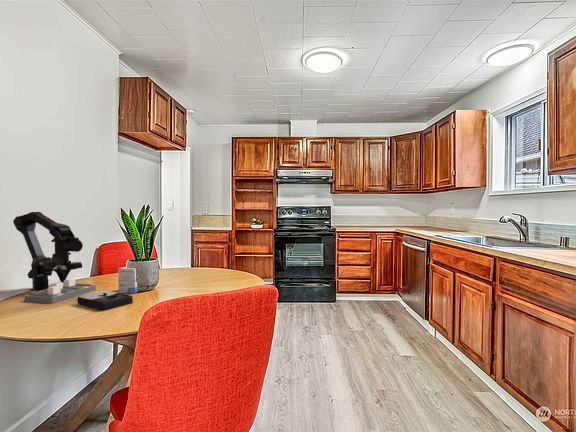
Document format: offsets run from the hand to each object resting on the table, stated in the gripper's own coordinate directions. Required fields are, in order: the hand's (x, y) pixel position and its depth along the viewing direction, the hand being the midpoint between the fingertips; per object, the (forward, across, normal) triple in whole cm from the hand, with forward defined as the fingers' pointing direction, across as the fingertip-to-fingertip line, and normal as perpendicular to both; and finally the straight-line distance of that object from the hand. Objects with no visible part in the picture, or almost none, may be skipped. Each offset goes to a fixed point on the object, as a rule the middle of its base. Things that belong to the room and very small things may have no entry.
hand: (62, 282), depth 169 cm
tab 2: (+1, +10, -14) cm, 17 cm away
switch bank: (+4, +7, -7) cm, 11 cm away
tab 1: (+1, +4, -7) cm, 8 cm away
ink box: (+4, +33, +6) cm, 34 cm away
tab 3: (+1, +4, 0) cm, 4 cm away
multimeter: (+5, +37, -14) cm, 40 cm away
